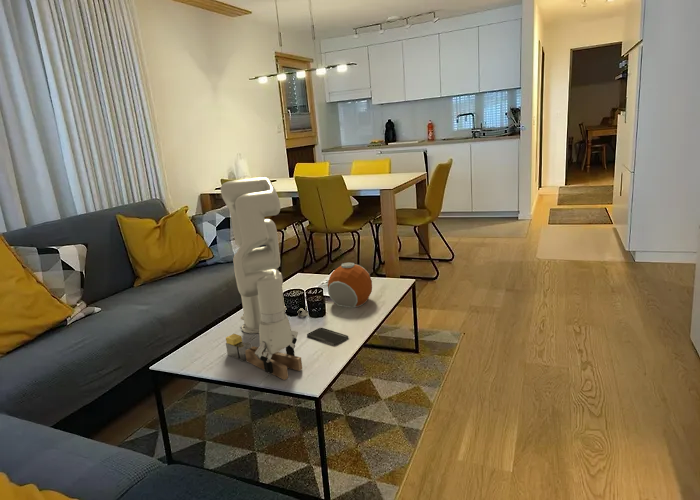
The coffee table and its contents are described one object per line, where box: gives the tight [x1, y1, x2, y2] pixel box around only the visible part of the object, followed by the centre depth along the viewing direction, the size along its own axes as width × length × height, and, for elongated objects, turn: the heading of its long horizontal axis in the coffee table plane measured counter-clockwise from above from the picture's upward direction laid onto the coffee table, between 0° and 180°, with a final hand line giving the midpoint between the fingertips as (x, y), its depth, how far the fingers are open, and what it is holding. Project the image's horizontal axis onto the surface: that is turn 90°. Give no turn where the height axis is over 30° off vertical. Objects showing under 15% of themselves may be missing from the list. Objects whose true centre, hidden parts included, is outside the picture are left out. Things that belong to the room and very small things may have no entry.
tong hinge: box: [225, 341, 253, 362], centre depth 162 cm, size 10×4×5 cm, turn 52°
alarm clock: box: [327, 262, 373, 308], centre depth 202 cm, size 19×18×17 cm
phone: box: [306, 327, 350, 347], centre depth 172 cm, size 8×1×15 cm
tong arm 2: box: [250, 345, 303, 372], centre depth 154 cm, size 20×2×4 cm, turn 58°
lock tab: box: [225, 333, 243, 345], centre depth 163 cm, size 4×4×2 cm
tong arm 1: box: [245, 349, 289, 381], centre depth 151 cm, size 20×2×4 cm, turn 46°
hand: (280, 365), depth 150 cm, fingers open, 9 cm apart
